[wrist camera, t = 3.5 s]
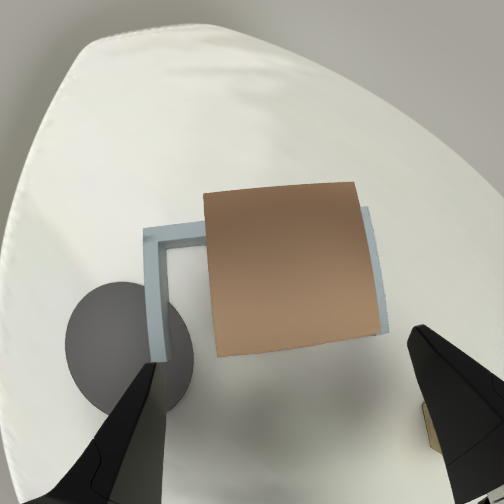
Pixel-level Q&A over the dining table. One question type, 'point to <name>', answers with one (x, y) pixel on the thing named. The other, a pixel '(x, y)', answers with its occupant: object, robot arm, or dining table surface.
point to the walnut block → (288, 268)
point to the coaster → (121, 345)
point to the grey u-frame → (195, 235)
